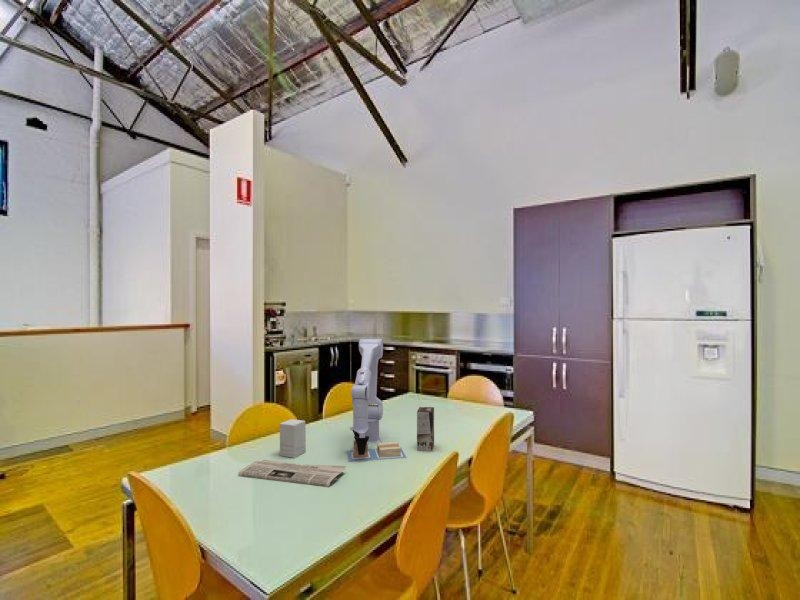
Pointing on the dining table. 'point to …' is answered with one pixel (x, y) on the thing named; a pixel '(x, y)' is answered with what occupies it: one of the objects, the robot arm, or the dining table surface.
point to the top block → (357, 451)
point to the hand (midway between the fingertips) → (360, 451)
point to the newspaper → (292, 472)
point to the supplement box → (292, 438)
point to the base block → (388, 449)
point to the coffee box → (425, 429)
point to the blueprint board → (371, 456)
